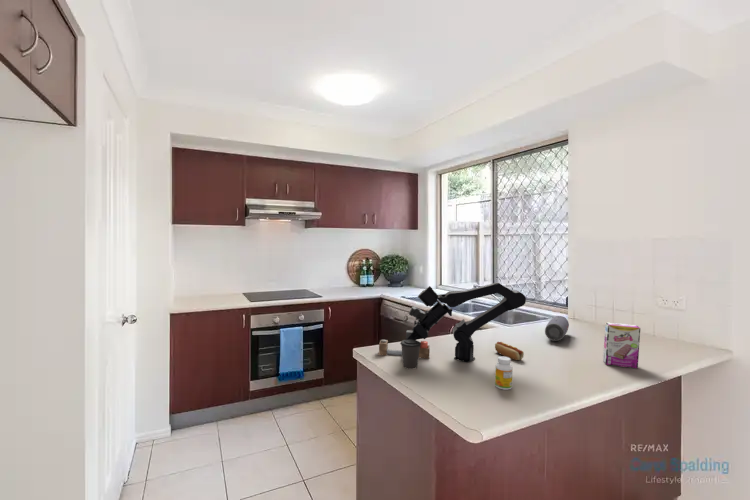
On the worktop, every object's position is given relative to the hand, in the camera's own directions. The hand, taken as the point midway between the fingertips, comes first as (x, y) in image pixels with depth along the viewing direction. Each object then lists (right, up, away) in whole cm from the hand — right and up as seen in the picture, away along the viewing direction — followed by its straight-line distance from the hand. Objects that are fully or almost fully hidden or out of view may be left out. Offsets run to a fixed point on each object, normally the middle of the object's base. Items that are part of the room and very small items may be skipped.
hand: (407, 339), depth 154 cm
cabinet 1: (-10, -6, +2) cm, 12 cm away
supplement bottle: (+30, -9, -30) cm, 43 cm away
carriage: (+1, -7, 0) cm, 7 cm away
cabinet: (+7, -7, -1) cm, 10 cm away
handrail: (-2, -7, +1) cm, 7 cm away
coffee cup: (0, -7, -13) cm, 15 cm away
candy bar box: (+85, -9, -7) cm, 85 cm away
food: (+43, -8, +2) cm, 44 cm away
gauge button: (+7, -5, -1) cm, 8 cm away
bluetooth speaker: (+78, -7, +32) cm, 85 cm away
